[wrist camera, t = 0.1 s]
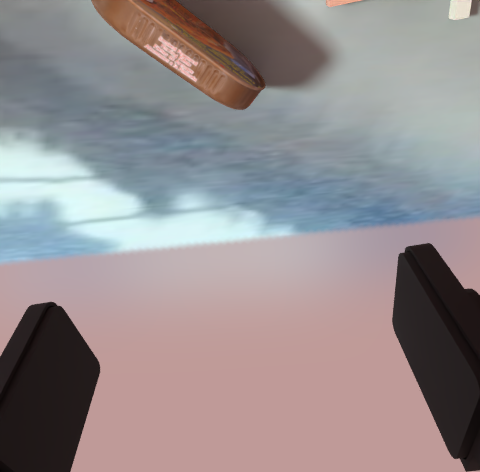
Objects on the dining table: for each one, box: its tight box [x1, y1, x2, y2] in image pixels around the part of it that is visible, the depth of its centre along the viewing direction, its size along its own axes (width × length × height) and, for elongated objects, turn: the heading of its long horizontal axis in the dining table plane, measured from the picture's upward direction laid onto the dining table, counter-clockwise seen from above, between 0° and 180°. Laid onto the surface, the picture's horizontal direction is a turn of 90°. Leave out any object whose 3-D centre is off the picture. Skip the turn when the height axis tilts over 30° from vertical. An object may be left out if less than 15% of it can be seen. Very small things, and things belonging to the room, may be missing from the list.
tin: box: [91, 0, 265, 110], centre depth 31 cm, size 15×3×8 cm, turn 54°
